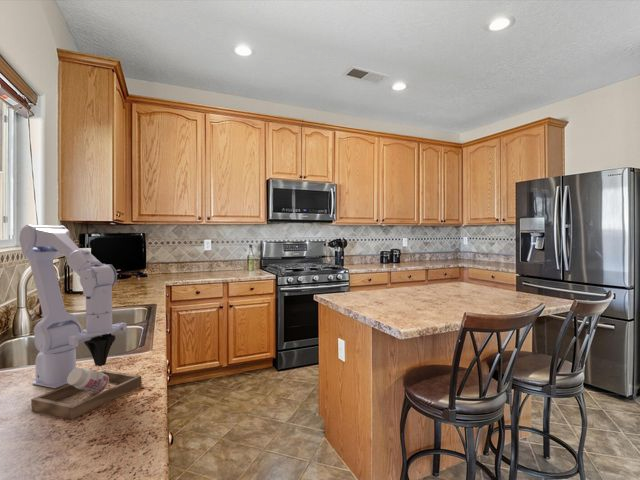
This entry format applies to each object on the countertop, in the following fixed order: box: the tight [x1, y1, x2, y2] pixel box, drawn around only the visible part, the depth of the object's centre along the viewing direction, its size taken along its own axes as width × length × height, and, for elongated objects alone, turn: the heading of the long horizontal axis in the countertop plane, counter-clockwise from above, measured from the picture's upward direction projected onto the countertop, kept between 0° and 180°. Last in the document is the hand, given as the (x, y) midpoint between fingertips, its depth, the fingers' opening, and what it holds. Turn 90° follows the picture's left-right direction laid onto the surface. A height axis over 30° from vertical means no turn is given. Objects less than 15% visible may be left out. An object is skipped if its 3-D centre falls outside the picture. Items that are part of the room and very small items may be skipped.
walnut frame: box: [30, 369, 142, 420], centre depth 88 cm, size 14×18×2 cm
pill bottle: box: [67, 367, 109, 394], centre depth 87 cm, size 5×5×8 cm
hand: (100, 364), depth 90 cm, fingers closed
